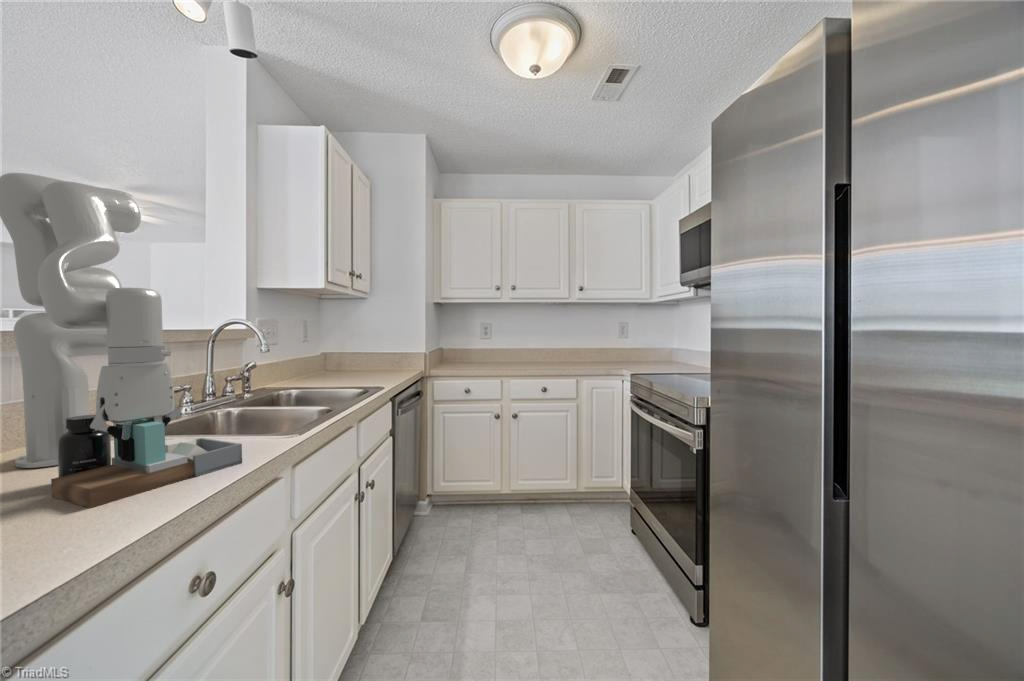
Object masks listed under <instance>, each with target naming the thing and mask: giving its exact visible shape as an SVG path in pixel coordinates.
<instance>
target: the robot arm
mask: <svg viewBox="0 0 1024 681" xmlns="http://www.w3.org/2000/svg"><path fill="white" fill-rule="evenodd" d="M0 218H1V221H2V224H3V225H4V227H5V228H6V230H7V232H8V234H9V236H10V238H11V241H12V243H13V248H14V258H15V265H16V273H17V281H18V282H17V283H18V287H19V292H20V296H21V297H22V299H23V300H24V302H26V303H27V304H28V305H32V306H36V307H43V308H44V311H45V312H35V313H30V314H27V315H24V316H22V317H20V318H19V319H17V321H16V322H15V324H14V326H13V337H14V341H15V346H16V348H17V351H18V356H19V361H20V366H21V377H22V390H23V411H24V412H23V414H24V434H25V439H24V440H25V455H24V456H20V457H19V458H17V459H15V460H14V466H15V467H16V468H19V469H36V468H38V469H39V468H46V467H54V466H58V440H59V438H60V437H61V436H62V435H63V434H65V433H66V432H68V429H66V428H65V426H66V419H67V418H70V417H75V416H83V415H90V399H89V398H90V395H89V394H90V393H89V392H90V391H89V378H88V375H87V372H86V371H85V370H84V369H83V368H82V367H81V366H80V365H79V364H77V363H76V362H75V361H74V360H73V358H74V357H83V356H85V357H86V356H87V357H88V356H105V355H107V362H108V363H107V365H103V366H101V368H100V371H99V372H100V373H99V376H98V382H97V387H96V388H97V389H96V400H95V402H96V403H95V415H96V417H95V418H94V420H93V422H92V423H91V425H90V428H91V429H95V430H99V431H103V432H106V433H108V434H110V435H111V436H112V437H113V439H114V438H116V439H117V442H118V456H119V457H120V458H121V460H123V461H128V462H131V461H134V459H135V457H134V440H133V439H131V435H130V434H131V422H132V421H135V420H147V421H154V422H161V423H164V424H165V427H167V425H169V423H170V422H171V421H172V420H175V419H176V418H178V417H179V416H180V415H181V414H182V411H181V409H179V407H178V406H177V405H176V403H175V391H174V390H175V389H174V383H173V378H172V374H171V370H170V367H169V365H168V362H165V359H166V357H170V356H171V354H172V351H171V349H170V348H165V345H164V335H163V332H164V330H163V304H162V303H163V302H162V295H161V293H159V292H158V291H157V290H154V289H149V288H145V287H144V288H143V287H141V288H140V287H122V283H121V281H120V279H119V278H118V276H117V275H116V274H115V273H114V272H112V271H110V270H108V269H105V268H100V267H95V266H99V265H101V264H106V263H108V262H109V261H112V260H113V259H115V258H116V257H117V256H118V254H120V253H119V252H120V249H121V248H120V243H119V241H118V239H117V237H116V234H115V232H117V233H124V234H131V233H134V232H135V231H137V229H138V228H139V227H140V224H141V220H142V215H141V210H140V208H139V205H138V204H137V202H136V201H135V199H134V198H132V197H131V196H130V195H129V194H126V193H123V192H120V191H116V190H111V189H107V188H101V187H98V186H93V185H91V184H90V185H89V184H84V183H81V182H74V181H65V180H62V179H57V178H52V177H47V176H42V175H39V174H33V173H24V172H8V173H4V174H2V175H1V176H0ZM72 357H73V358H72ZM107 422H110V423H112V424H111V425H110V424H108V423H107ZM113 423H114V426H113Z"/></svg>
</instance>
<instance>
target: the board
mask: <svg viewBox="0 0 1024 681" xmlns="http://www.w3.org/2000/svg"><path fill="white" fill-rule="evenodd" d="M187 461H188V463H184V464H181V465H177V466H173V467H169V468H166V469H162V470H158V471H155V472H151V473H148V472H143V471H139V470H134V469H130V468H125V467H121V466H117V465H112V464H111V465H108V466H104V467H100V468H95V469H91V470H87V471H83V472H79V473H74V474H70V475H66V476H62V477H59V476H58V477H54V478H51V479H50V480H51V481H50V482H51V497H52V498H55V499H58V500H61V501H65V502H69V503H72V504H74V505H79V506H82V507H86V508H89V509H92V508H95V507H98V506H99V507H100V506H102V505H105V504H106V505H107V504H109V503H112V502H114V501H119V500H122V499H124V498H128V497H131V496H135V495H138V494H142V493H145V492H149V491H152V490H155V489H158V488H162V487H164V486H169V485H171V484H173V483H179V482H181V481H184V479H185V480H188V479H191V478H195V477H194V461H191V460H187ZM190 477H191V478H190ZM187 478H188V479H187Z"/></svg>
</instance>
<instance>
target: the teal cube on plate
mask: <svg viewBox="0 0 1024 681" xmlns="http://www.w3.org/2000/svg"><path fill="white" fill-rule="evenodd" d="M112 426H114V423H113V422H112ZM165 430H166V426H165V424H164V423H161V422H154V421H147V420H146V419H141V420H135V421H132V422H131V434H130V435H131V439H133V440H134V457H135V459H134V461H131V462H128V461H123V460H121V458H120V457H119V456H118V442H117V439H116V438H114V437H113V449H114V457H111V465H117V466H121V467H125V468H130V469H134V470H139V471H143V472H148V473H151V472H155V471H158V470H162V469H166V468H169V467H173V466H177V465H181V464H184V463H188V461H187V456H183V455H178V454H173V453H167V452H165V441H166V433H165Z"/></svg>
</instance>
